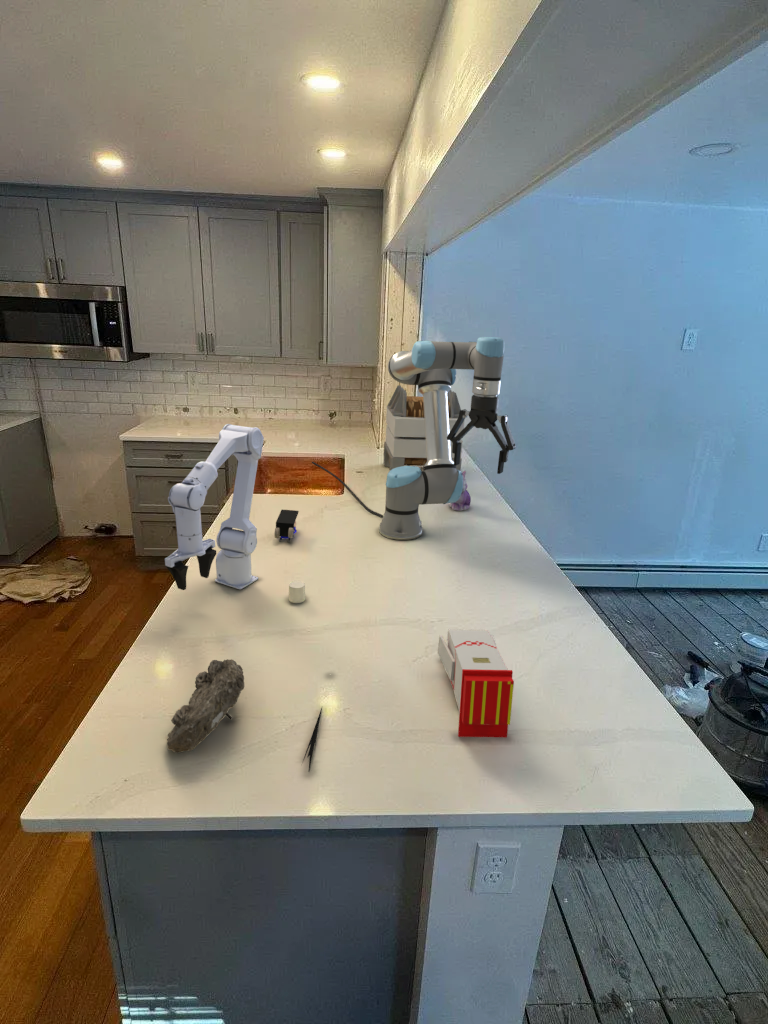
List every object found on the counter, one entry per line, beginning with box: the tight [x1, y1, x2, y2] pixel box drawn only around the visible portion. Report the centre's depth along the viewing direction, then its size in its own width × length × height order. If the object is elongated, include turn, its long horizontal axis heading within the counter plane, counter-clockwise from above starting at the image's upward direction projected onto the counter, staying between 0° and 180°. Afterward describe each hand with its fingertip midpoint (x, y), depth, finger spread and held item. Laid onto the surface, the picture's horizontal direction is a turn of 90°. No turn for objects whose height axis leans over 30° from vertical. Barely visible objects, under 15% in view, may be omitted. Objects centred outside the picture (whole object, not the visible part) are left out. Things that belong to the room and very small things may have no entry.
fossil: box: [166, 658, 245, 754], centre depth 106 cm, size 22×10×15 cm
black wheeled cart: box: [273, 509, 300, 543], centre depth 192 cm, size 7×8×15 cm
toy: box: [437, 628, 515, 738], centre depth 117 cm, size 12×13×30 cm
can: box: [288, 580, 306, 604], centre depth 152 cm, size 4×4×4 cm
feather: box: [301, 673, 332, 771], centre depth 108 cm, size 2×28×2 cm
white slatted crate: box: [383, 384, 466, 472], centre depth 268 cm, size 34×33×41 cm
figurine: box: [449, 470, 472, 511], centre depth 227 cm, size 9×10×15 cm
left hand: (193, 582), depth 141 cm, fingers open, 7 cm apart
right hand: (477, 468), depth 165 cm, fingers open, 13 cm apart
